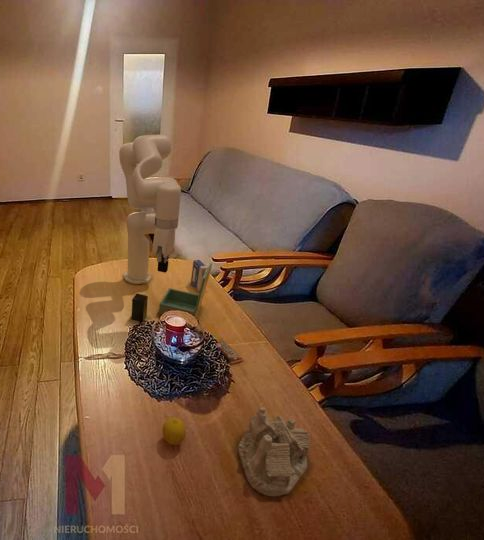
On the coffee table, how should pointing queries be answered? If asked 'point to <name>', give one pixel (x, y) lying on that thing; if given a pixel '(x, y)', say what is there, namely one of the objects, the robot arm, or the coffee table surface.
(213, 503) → the coffee table surface
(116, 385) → the coffee table surface
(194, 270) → the walkman
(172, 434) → the lemon
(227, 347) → the chocolate bar
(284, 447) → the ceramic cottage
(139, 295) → the iron block
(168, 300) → the green shallow box
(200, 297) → the lid
